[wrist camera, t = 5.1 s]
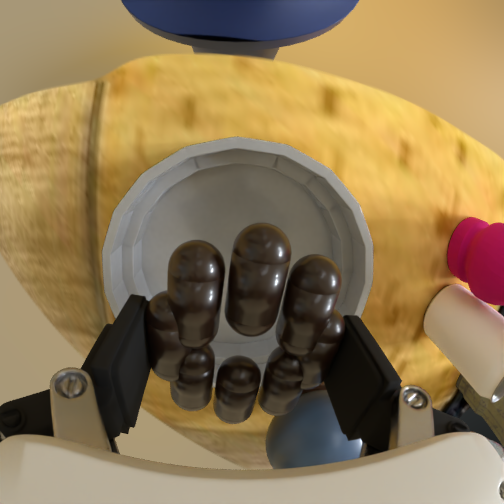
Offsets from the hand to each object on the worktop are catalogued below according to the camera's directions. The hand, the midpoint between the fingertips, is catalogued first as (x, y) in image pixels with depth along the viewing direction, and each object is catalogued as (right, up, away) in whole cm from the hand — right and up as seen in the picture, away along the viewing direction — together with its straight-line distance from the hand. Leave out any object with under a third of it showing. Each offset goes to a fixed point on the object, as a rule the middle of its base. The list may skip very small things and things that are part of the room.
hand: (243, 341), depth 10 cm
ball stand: (+5, -9, +14) cm, 18 cm away
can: (+21, -3, +13) cm, 24 cm away
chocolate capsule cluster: (0, 0, 0) cm, 1 cm away
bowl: (-1, +3, +9) cm, 10 cm away
